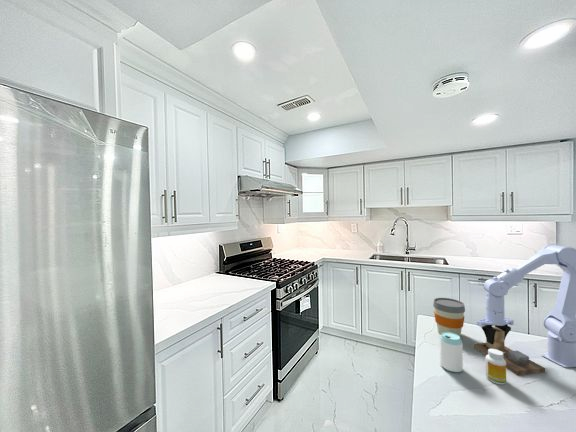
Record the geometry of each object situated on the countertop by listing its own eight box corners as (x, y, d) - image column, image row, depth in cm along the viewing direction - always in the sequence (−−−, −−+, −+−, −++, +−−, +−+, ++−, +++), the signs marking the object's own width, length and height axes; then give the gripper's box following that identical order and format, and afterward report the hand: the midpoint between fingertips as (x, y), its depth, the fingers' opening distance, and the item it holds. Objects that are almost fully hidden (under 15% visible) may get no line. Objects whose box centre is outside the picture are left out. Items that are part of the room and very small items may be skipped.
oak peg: (495, 345, 102) (495, 326, 102) (504, 351, 98) (504, 331, 98) (486, 346, 102) (486, 327, 102) (495, 351, 98) (495, 332, 98)
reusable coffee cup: (468, 333, 115) (467, 301, 115) (461, 343, 107) (461, 309, 107) (437, 325, 124) (437, 295, 124) (429, 333, 116) (429, 302, 116)
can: (463, 376, 86) (462, 342, 86) (439, 369, 90) (439, 337, 90) (462, 365, 92) (461, 333, 92) (440, 359, 96) (439, 329, 96)
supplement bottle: (510, 386, 81) (510, 356, 81) (491, 384, 82) (491, 355, 82) (499, 375, 86) (499, 348, 86) (482, 373, 87) (482, 346, 87)
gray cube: (517, 362, 93) (517, 350, 93) (528, 368, 89) (528, 356, 89) (508, 363, 93) (508, 351, 93) (519, 369, 89) (519, 357, 89)
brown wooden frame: (497, 345, 105) (497, 341, 105) (545, 372, 87) (545, 368, 87) (473, 347, 104) (473, 343, 104) (517, 375, 86) (517, 370, 86)
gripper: (501, 304, 104) (501, 336, 105) (470, 306, 103) (470, 338, 103) (518, 311, 97) (519, 345, 98) (485, 313, 96) (486, 348, 96)
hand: (495, 342), depth 100 cm, fingers closed on oak peg, 4 cm apart
